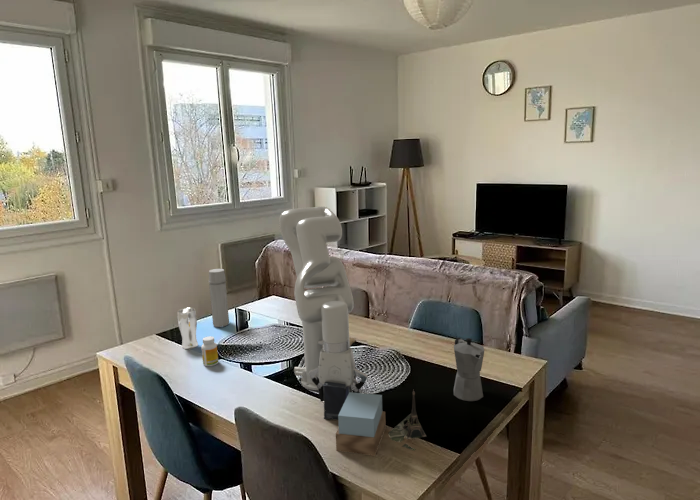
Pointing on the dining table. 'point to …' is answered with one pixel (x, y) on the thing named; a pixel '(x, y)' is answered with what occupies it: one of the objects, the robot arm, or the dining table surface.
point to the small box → (334, 398)
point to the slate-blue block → (360, 414)
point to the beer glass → (188, 327)
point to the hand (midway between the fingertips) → (339, 400)
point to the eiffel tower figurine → (408, 428)
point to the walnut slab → (361, 440)
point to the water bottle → (218, 297)
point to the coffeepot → (468, 370)
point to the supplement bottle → (209, 351)
